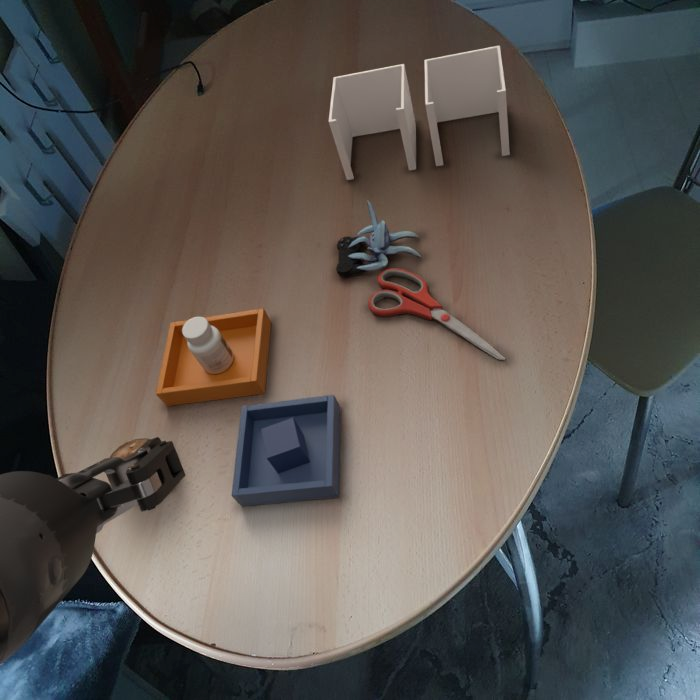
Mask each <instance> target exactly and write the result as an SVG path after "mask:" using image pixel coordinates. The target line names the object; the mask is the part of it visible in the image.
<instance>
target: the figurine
mask: <svg viewBox="0 0 700 700" xmlns="http://www.w3.org/2000/svg"><path fill="white" fill-rule="evenodd" d="M366 203H367V204H366V205H367V207H368V208H367V209H368V213H369V217H370V221H371V224H370V225H368V226H365V227H363V228H362V229H361V230H360V231H358V232H357V233H356V236H354V237H352V236H343V237H341V238H340V239H339V240H338V241H337V242H336V243H337V244H336V248H337V250H338V263H337V265H336V268H335V269H336V272H337V274H338V275H339V276H340V278H343V279H346V278H351V277H352V276H353V275H361V274H364V273H365V272H366V271H369V272H371V271H378V270H383V269H386V268H387V267H388V265H389V260H388V256H395V255H397V254H400V253H407V254H410V255H412V256H414V257H418V258H420V259H421V258H422V256H421V254H419V253H418V252H417V251H416V249H414V248H412V247H409V246H408V245H407V246H405V245H395V246H394V245H391V243H394V242H396V241H398V240H401V239H405V238H406V239H414V238H415V239H416V238H420V236H419V235H418V234H416V233H415V232H414V231H410V230H403V231H397V232H393V233H392V232H390V231H389V227H388V225H387V224H386V221H385V220H381V221H379V222H378V218H377V215H376V212H375V209H374V207H373V204H372V203H371V201H369V199H367V200H366ZM369 233H370V236H369V237H367V236H365V234H369ZM362 235H363V236H362ZM364 243H365V244H366V246H367V250H368V251H369V253H370V254H372V255H370V254H368V253H365V252H363V250H362V247H361V245H363V244H364ZM363 261H365V262H367V263H368V264H365V265H363Z"/></svg>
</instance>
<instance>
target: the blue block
mask: <svg viewBox="0 0 700 700" xmlns="http://www.w3.org/2000/svg"><path fill="white" fill-rule="evenodd" d="M261 433H262V438H263V443H264V448H265V453H266V458H267V460H268V461H269V462H270V464H271V465H272V466H273V468H274V469H275V470H276V471H277V473H281V472H284V471H287V470H289V469H292V468H295V467H298V466H301V465H303V464H306V463H309V462H310V459H309V455H308V451H307V447H306V443H305V439H304V435H303V433H302V431H301V429H300V428H299V426H298V425H297V423H296V421H295V420H294V418H290V419H288V420H285V421H282V422H279V423H276V424H274V425H271V426H268V427H265V428H262V429H261Z"/></svg>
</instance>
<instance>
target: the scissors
mask: <svg viewBox="0 0 700 700" xmlns="http://www.w3.org/2000/svg"><path fill="white" fill-rule="evenodd" d="M392 276H394V277H395V276H397V277H402V278H405V279H409V280H411V281H412V282H414V283H416V284H418V285H419V286H420V288H419V290H416V291H413V290H411V289H409V288H407V287H405V286H403V285H401V284H398V283H395V282H392V281H387V280H386V279H388V278H389V277H392ZM377 283H378V285H379V286H380V287H381V288H382V289H380V290H377V291H376V292H374V293H373V294H371V296H370V298H369V299H368V309H369V311H370V312H371V313H372V314H374V315H376V316H379V317H392V316H396V315H401V314H411V315H414V316H417V317H420V318H423V319H426V320H428V321H432V320H435V321H436V322H438V323H439V324H441V325H442V326H444V327H446V328H447V329H448V330H450V331H451V332H453V333H455V334H456V335H458V336H459V337H461V338H462V339H464V340H465V341H467V342H469V343H470V344H472V345H473V346H475V347H476V348H479V350H481V351H483V352H484V353H486V354H488V355H489V356H491V357H493V358H494V359H495V360H498V361H506V357H505V356H503V355H502V354H501V353H500V352H499V351H498V350H496V349H495V347H493V346H492V345H491V344H489V342H487V341H486V340H485V339H484V338H482V337H481V336H480V335H478V334H477V333H476V332H474V331H473V330H472V329H471V328H469V327H468V326H467V325H465V324H464V323H462V322H461V321H460V320H459V319H458V318H456V317H455V316H453V315H452V314H451V313H449V312H448V311H446V310H444V309H443V305H441V304H440V303H439V302H438V301H436V300H435V299H434V298H433V297H432V296H431V295H430V292H429V286H428V283H427V282H426V280H425V279H424V278H422V276H420V275H417V274H416V273H414V272H411V271H409V270H406V269H401V268H397V267H396V268H395V267H391V268H387V269H386V268H385V269H384V270H383V271H381V272H380V273H379V275H378V277H377ZM383 298H390V299H394V300H396V301H398V302H399V305H396V306H393V307H390V308H380V307H377V306H376V303H377V301H379V300H380V299H383Z"/></svg>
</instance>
